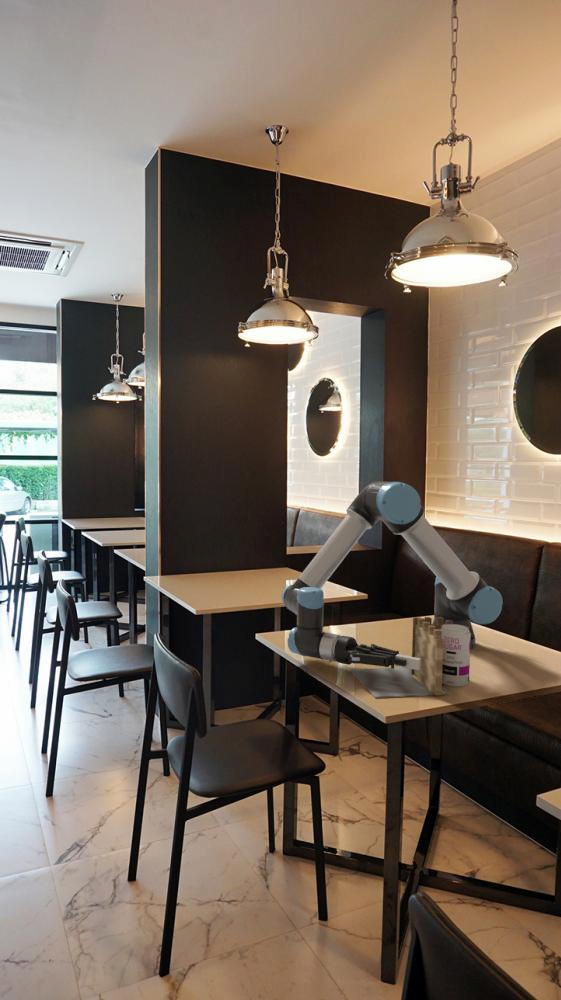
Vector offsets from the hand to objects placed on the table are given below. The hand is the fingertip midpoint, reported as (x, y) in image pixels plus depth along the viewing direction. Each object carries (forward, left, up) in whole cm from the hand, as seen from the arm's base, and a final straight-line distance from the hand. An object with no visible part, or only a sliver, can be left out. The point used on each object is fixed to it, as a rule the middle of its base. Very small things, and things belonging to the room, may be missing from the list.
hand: (419, 664), depth 173 cm
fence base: (0, -6, -7) cm, 9 cm away
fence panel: (-3, -2, -6) cm, 7 cm away
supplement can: (-12, -4, -7) cm, 14 cm away
